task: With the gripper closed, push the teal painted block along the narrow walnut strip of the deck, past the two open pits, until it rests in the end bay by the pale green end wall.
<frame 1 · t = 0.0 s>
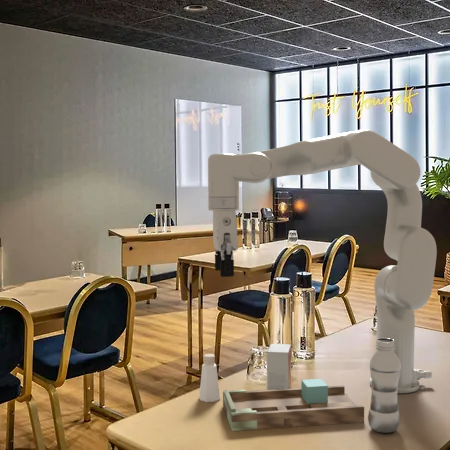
hand: (224, 273, 150), 31 cm above the table, tool pointing down, fingers open, 9 cm apart
salt shaker: (209, 399, 151), on the table
small box: (279, 387, 159), on the table
plastic bottle: (383, 431, 132), on the table
block: (314, 399, 145), point 2 cm above the table, touching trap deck
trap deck: (291, 414, 141), on the table
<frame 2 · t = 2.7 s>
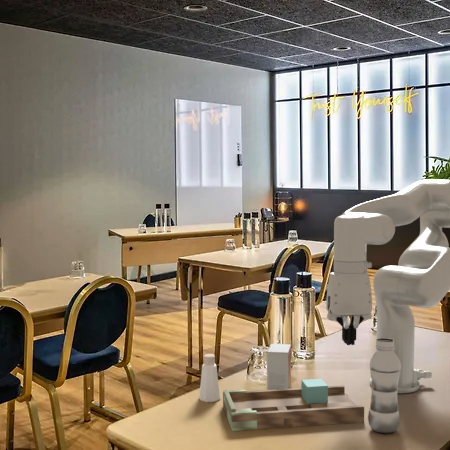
hand: (349, 343, 145), 15 cm above the table, tool pointing down, fingers closed
nothing on the table moved.
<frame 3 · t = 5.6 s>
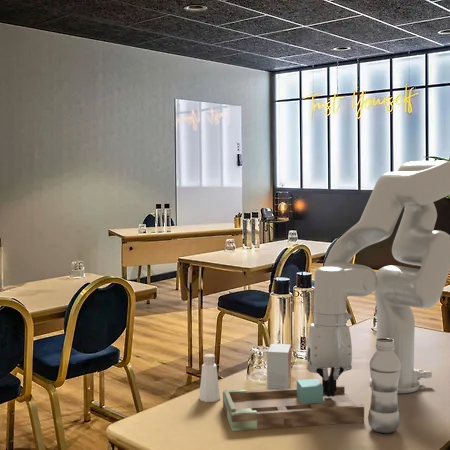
hand: (329, 394, 145), 3 cm above the table, tool pointing down, fingers closed
block: (309, 399, 145), point 2 cm above the table, touching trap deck
everything else where it was.
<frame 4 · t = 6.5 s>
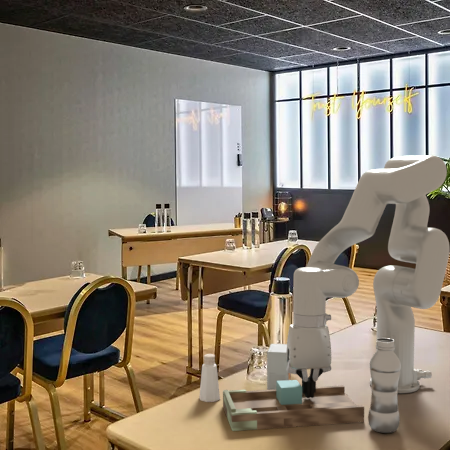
hand: (308, 395, 144), 3 cm above the table, tool pointing down, fingers closed
block: (288, 400, 144), point 2 cm above the table, touching gripper, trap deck
everything else where it was.
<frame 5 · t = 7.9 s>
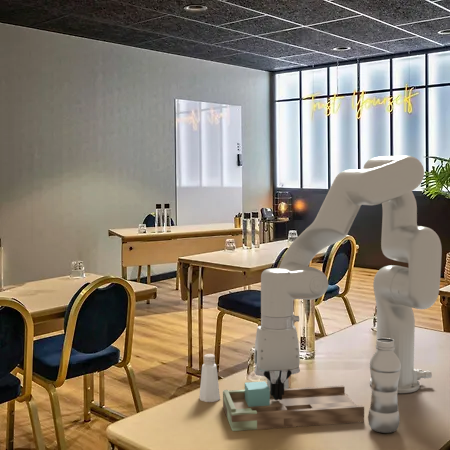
hand: (277, 397, 143), 3 cm above the table, tool pointing down, fingers closed
block: (257, 402, 143), point 2 cm above the table, touching gripper
everything else where it was.
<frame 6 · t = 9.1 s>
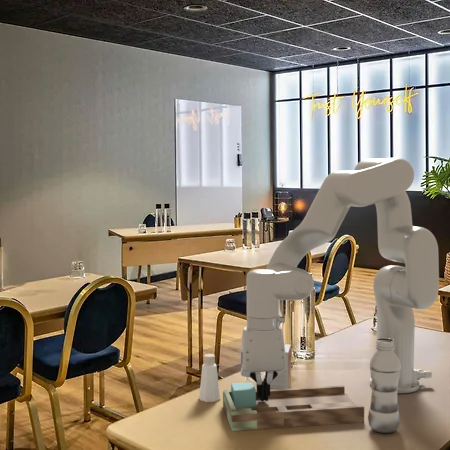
hand: (263, 398, 143), 3 cm above the table, tool pointing down, fingers closed
block: (243, 402, 143), point 2 cm above the table, touching gripper, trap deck
everything else where it was.
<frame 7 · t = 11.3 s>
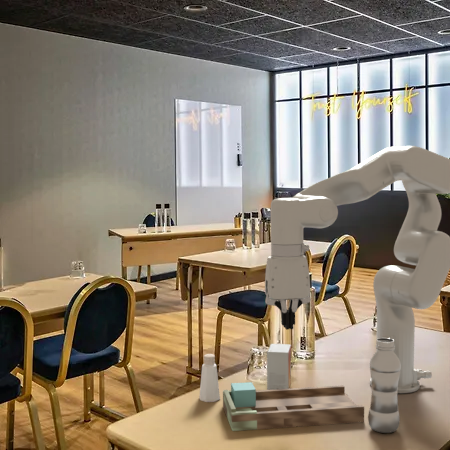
hand: (288, 327, 143), 19 cm above the table, tool pointing down, fingers closed
block: (243, 402, 143), point 2 cm above the table, touching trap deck
everything else where it was.
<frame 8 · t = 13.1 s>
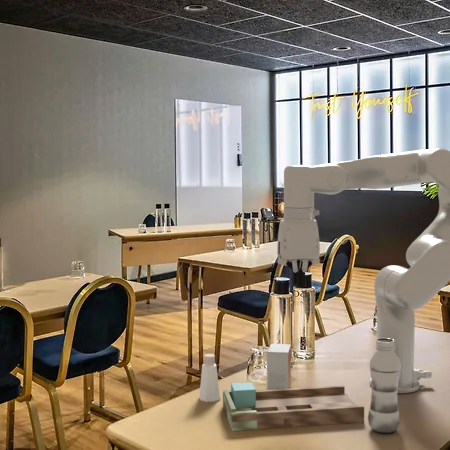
hand: (298, 287, 153), 27 cm above the table, tool pointing down, fingers closed
nothing on the table moved.
at the end: block 1.0 cm from the target spot, point 2.0 cm above the table; block tilted 0° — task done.
